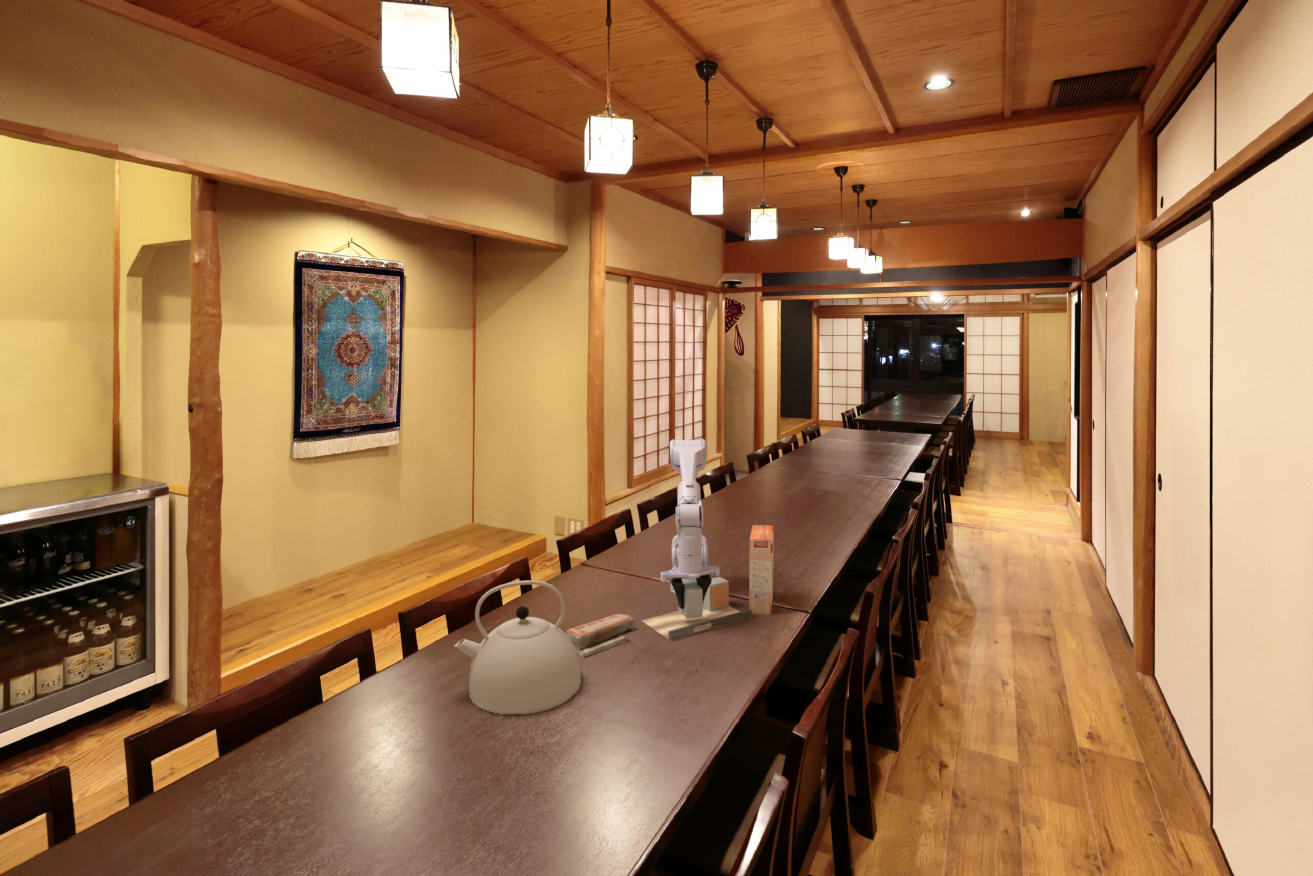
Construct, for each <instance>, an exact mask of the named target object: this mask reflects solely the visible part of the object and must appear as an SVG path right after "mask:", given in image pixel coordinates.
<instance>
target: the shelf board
mask: <svg viewBox="0 0 1313 876" xmlns="http://www.w3.org/2000/svg"><path fill="white" fill-rule="evenodd" d="M750 619H753V614H752V610H751V609H749V608H748V609H745V610H742V611H740V610H738V609H736V608H734V607H732V606H730V605H729V607H727V608H723V609H719V610H715V611H711V612H710V611H708V610H706V609H704V608H703V612H702V617H698V618H691V619H686V618H685V617H684V615H683V614H682V613H681V612H680V611H679V610H676V611H673V612H669V613H666V614H661V615H657V616H653V617H650V618H646V619H641V622H643V623H644V624H645V625H647V626H648V627H650V628H651V629H653V630H654V631H656V632H657V633H659V634H660V635H662V636H663V637H664V638H666V639H667V640H669V641H675V640H679V639H682V638H687V637H690V636H693V635H697V634H700V633H704V632H706V631H711V630H714V629H718V628H722V627H725V626H728V625H732V624H736V623H739V622H743V621H747V620H750Z"/></svg>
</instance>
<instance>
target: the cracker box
mask: <svg viewBox="0 0 1313 876" xmlns="http://www.w3.org/2000/svg"><path fill="white" fill-rule="evenodd" d="M774 536H775V535H774V526H773V525H769V524H764V525H763V524H762V525H761V524H754V525H752V528H751V533H750V536H749V575H748V577H749V578H748V579H749V583H748V585H749V587H748V588H749V591H748V593H749V595H748V597H749V598H748V599H749V600H748V601H749V602H748V609H751V610H752V615H766V616H767V615H770V616H771V615H772V610H773V599H774V561H775V560H774V555H775V554H774V553H775V552H774V549H775V547H774V545H775V543H774V541H775V540H774V538H775V537H774Z"/></svg>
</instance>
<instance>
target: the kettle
mask: <svg viewBox="0 0 1313 876" xmlns="http://www.w3.org/2000/svg"><path fill="white" fill-rule="evenodd" d="M526 585H527V586H528V585H535V586H536V585H537V586H542V587H545V588H548V589H549V590H551V591H552V592H554V593H555V594H556V596H557V597H558V599H559V602H560V605H561V612H560V616H559V618H558V620H557V622H556V624H553V623H552V622H550V621H548V620H546V619H543V618H540V617H536V616H529V613H530V610H529V609H528V607H527V606H525V605H521V606H519V607H517V609H516V611H515V615H516V617H515V618H511V619H509V620H507V621H504V622H503V623H501V624H500V625H499V626H496V627H495V628H494V629H493V630H491V632H489V633H487V632H486V630H485V629H484V627H483V626H482V622H481V620H480V610H481V607H482V604H483V602H484V601H485V600H486V599H487V597H489V596H490V595H492V594H494V593H496V592H498V591H500V590H503V589H506V588H511V587H516V586H517V587H518V586H526ZM565 615H566V603H565V599H564V596H563V595H562V593H561V592H560V591H559V589H557V588H556V587H555V586H554V585H552V584H550V583H547V582H545V581H543V580H542V581H541V580H529V579H528V580H519V581H518V580H517V581H513V582H507V583H504V584H499V585H497V586H495V587H493V588H491V589H489V590H488V591H486V592H485V593H484V594H483V595H482V596H481V597H480V598H479V599H478V601H477V604H476V607H475V612H474V616H475V618H474V619H475V623H476V626H477V628H478V630H479V632H480V633H481V635H482V636H483V638H484V639H482V641H481V642H480V643H478V642H475V641H472V640H468V639H467V638H463V639H460V640H458V642H456V644H454V648H456V649H458V651H461V652H463V653H464V654H465V655H467V656H468V657H470V658H472V661H471V664H470V669H469V679H468V680H469V683H468V684H469V692H470V694H469V693H468V694H469V695H468V696H469V699H470V698H471V699H470V701H471V700H472V701H471V703H473V704H474V703H475V704H476V705H477V706H478V707H477V706H476V705H475V704H474V705H475V706H476V707H477V708H479V707H480V708H482V709H484V710H483V711H485V710H487V711H486V712H488V711H490V712H489V713H491V712H494V713H493V714H496V713H499V714H498V715H503V714H523V715H529V714H530V713H531V714H535V713H540V712H543V711H547V710H550V709H553V708H556V707H558V706H560V705H562V704H564V703H566V702H568V701H569V700H571V698H572V696H573V695H574V694H575V693H576V694H577V693H578V691H579V689H580V688H581V685H582V677H581V665H580V660H579V655H577V652H576V650H575V647H574V645H573V643H572V642H571V640H570V639H569V638H568V636H567V635H566V632H564V631H563V630H562V629H561V628H560V626H561V624H562V623H563V621H564V619H565ZM576 694H575V695H576ZM575 695H574V696H575ZM574 696H573V697H574ZM568 699H569V700H568ZM555 706H556V707H555ZM480 708H479V709H480ZM482 709H481V710H482ZM531 714H530V715H531Z"/></svg>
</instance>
